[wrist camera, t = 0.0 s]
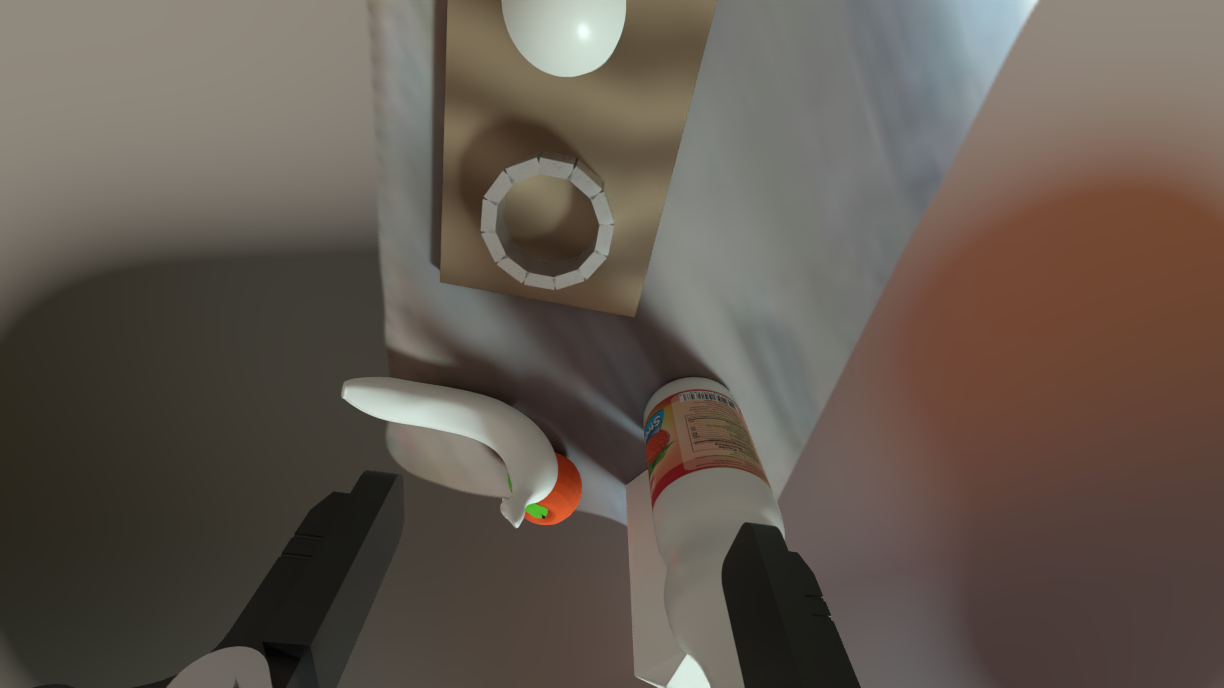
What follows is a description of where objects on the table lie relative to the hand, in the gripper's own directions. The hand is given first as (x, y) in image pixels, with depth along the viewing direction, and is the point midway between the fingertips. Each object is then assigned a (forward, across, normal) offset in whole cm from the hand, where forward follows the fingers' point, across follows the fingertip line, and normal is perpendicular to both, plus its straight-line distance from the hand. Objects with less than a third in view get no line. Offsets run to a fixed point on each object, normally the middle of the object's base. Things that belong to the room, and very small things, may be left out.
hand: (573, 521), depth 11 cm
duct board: (+29, +3, -5) cm, 30 cm away
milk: (+29, -13, +28) cm, 43 cm away
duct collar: (+28, +3, +1) cm, 28 cm away
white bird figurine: (+30, +9, +20) cm, 37 cm away
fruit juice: (+30, -13, +18) cm, 37 cm away
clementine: (+30, 0, +27) cm, 40 cm away
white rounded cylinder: (+28, +3, -11) cm, 30 cm away
